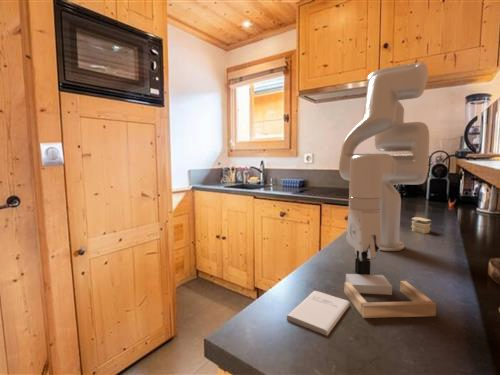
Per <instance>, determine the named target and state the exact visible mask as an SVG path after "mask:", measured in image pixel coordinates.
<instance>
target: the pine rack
mask: <svg viewBox="0 0 500 375" xmlns="http://www.w3.org/2000/svg"><path fill="white" fill-rule="evenodd" d="M399 283H400V284H399V292H400V293H402V294H403V295H404V296H405V297H406V298H408V299H409V300H410V301H381V302H380V301H376V302H374V301H373V302H367V300H366V299H365V298H364V297H363V295H361V293H358V291H357V290H356V289H355V288H354V287H353V286H352V284H351V283H350V282H346V281H345V282H344V284H343V285H344V287H343V288H344V289H343V290H344V291H343V292H344V294H345V296H346V297H347V298H348V300H349V302H350V303H351V304H352V305H353V306H354V308H356V310H357V312H358V313H359V314H360V315H361V317H362V318H363V319H371V318H374V319H377V318H380V319H381V318H411V317H413V318H414V317H436V316H437V315H436V313H437V303H435V302H434V301H433V300H431V299H430V298H429V297H428V296H426V295H425V294H424V293H423V292H421V291H420V290H419V289H417V288H415V287H414V286H413V285H412V284H410V283H409V282H408V281H406V280H400V281H399Z"/></svg>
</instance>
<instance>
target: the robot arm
mask: <svg viewBox="0 0 500 375" xmlns="http://www.w3.org/2000/svg"><path fill="white" fill-rule="evenodd" d="M428 79H429V68H428V66H427V65H426V63H424V62H422V61H421V62H413V63H407V64H402V65H397V66H389V67H385V68H380V69H377V70H374V71H372V72H371V73H370V74H369V75H368V76H367V77H366V87H367V88H366V96H365V101H364V102H365V103H364V108H363V114H362V115H363V116H362V120H361V121H359V123H358V124H357V125H355V126H354V127H353V128H352V129H351V130H350V132H349V133H348V134H347V135H346V137H345V139H344V140H343V143H342V146H341V150H340V155H339V156H340V157H339V164H338V172H339V174H340V175H339V176H341V177H340V178H342V179H343V180H345V181H349V182H348V184H349V187H348V210H349V211H348V216H347V225H346V242H347V243H348V244H349V245H350V246H351V247H353V248H354V257H355V258H354V260H355V261H354V262H355V265H354V274H364V275H371V261H372V259H376V253H378V252H379V251H384V252H397V251H402V250H403V249H405V244H404V242H401V241H400V229H401V228H400V227H401V206H402V198H401V197H402V196H401V194H400V192H399V191H398V189H396V187H395V186H394V185H412V186H413V185H416V186H417V185H418V186H419V185H421V184H424V183H425V182H426V181H427V178H428V171H429V155H430V154H429V152H430V131H429V127H428V125H427V124H426V123H425V122H422V121H412V122H405V121H404V118H405V117H404V116H405V108H404V106H403V104H402V103H401V102H400V101H403V100H404V101H405V100H412V99H413V100H414V99H418V98H421V96H422V95H423V93H424V91H425V89H426V86H427V84H428ZM372 137H374V146H375V148H376V150H377V151H379V152H383V153H354V152H355V150H356V149H357V147H358V146H360V144H361V143H363V142H364V141H367V140H368V139H370V138H372ZM384 152H385V153H384ZM397 152H398V153H402V152H403V153H405V152H406V153H411V155H391V154H388V153H397Z"/></svg>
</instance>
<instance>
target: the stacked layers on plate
mask: <svg viewBox="0 0 500 375" xmlns="http://www.w3.org/2000/svg"><path fill="white" fill-rule="evenodd" d="M411 220H412V221H411V226H410V228H412V229H411V232H414V231H415V232H416V233H420V234H429V233H430V230H431V229H432V228H431V227H430V225H432V222H431V221H432V220H431V219H428V218H423V217H420V216H419V217H418V216H414V217H412V218H411ZM429 221H430V222H429Z"/></svg>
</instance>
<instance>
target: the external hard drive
mask: <svg viewBox="0 0 500 375" xmlns="http://www.w3.org/2000/svg"><path fill="white" fill-rule="evenodd" d="M350 303H351V301H350V300H348V299H343V298H341V297H337V296H333V295H331V294H328V293H324V292H321V291H318V290H313V291H312V292H311V293H310V294H309V295H308V296H307V297H306V298H304V300H302V301H301V302H300V303H299V304H298V305H297V306H296V307H295V308H294V309H292V311H290V312H289V313H288V314H287V316H286V320H287V321H289V322H292V323H294V324H297V325H299V326H301V327H304V328H307V329H309V330H311V331H314V332H316V333H319V334H321V335H324V336H327V337H328V336H329V334H330V333H331V331H332V330H333V329H334V328H335V326H336V325H337V323H338V322H339V320H340V319H341V318H342V316H343V315H344V314H345V312H346V311H347V309H349V307H350Z"/></svg>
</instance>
